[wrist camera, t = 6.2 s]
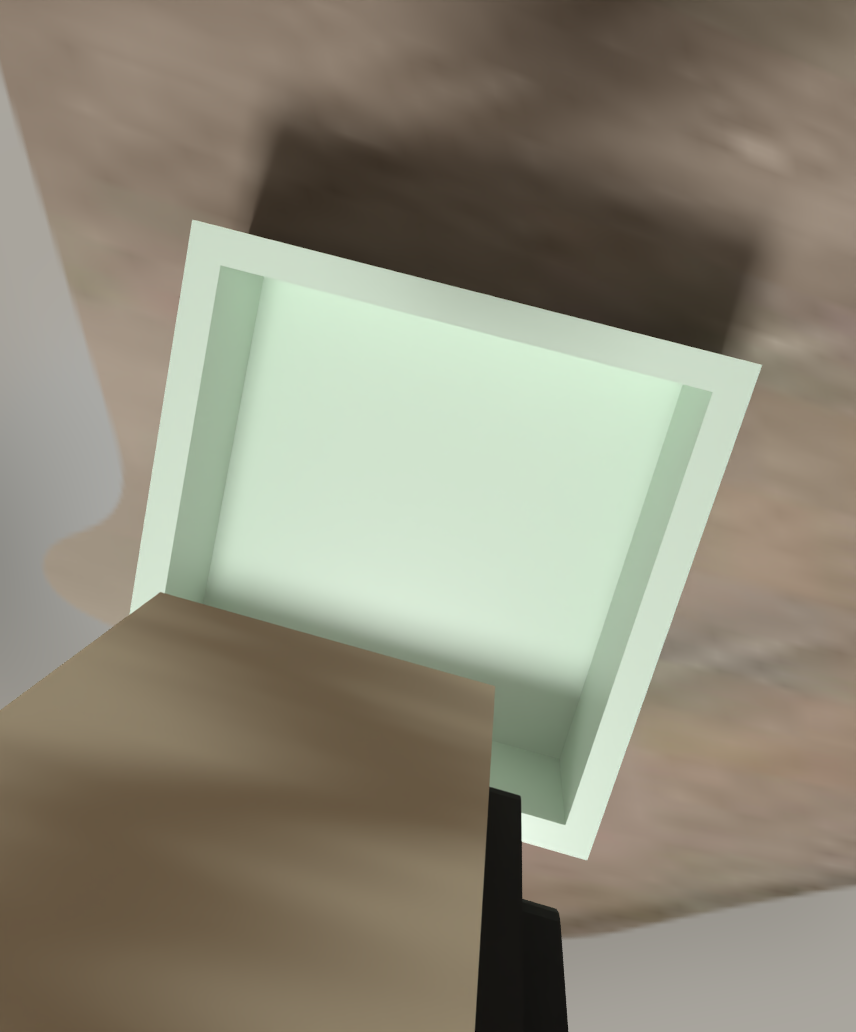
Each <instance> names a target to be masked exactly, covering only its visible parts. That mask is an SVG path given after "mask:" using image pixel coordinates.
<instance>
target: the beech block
mask: <svg viewBox="0 0 856 1032" xmlns="http://www.w3.org/2000/svg"><path fill="white" fill-rule="evenodd" d="M494 699H495V686H493V685H489V684H486V683H482V682H479V681H475V680H472V679H468V678H464V677H461V676H457V675H454V674H450V673H447V672H443V671H439V670H436V669H432V668H429V667H425V666H422V665H418V664H415V663H411V662H407V661H404V660H400V659H397V658H393V657H390V656H386V655H383V654H379V653H375V652H372V651H368V650H365V649H361V648H358V647H354V646H351V645H347V644H343V643H340V642H336V641H333V640H329V639H326V638H322V637H318V636H315V635H311V634H308V633H304V632H301V631H297V630H294V629H290V628H286V627H283V626H279V625H276V624H272V623H269V622H265V621H262V620H258V619H254V618H251V617H247V616H244V615H240V614H237V613H233V612H229V611H226V610H222V609H219V608H215V607H212V606H208V605H205V604H201V603H197V602H194V601H190V600H187V599H183V598H180V597H176V596H173V595H169V594H165V593H162V592H160V593H158V594H157V595H156V596H154V597H153V598H152V599H150V600H149V601H147V602H146V603H145V604H143V605H142V606H141V607H139V608H138V609H137V610H135V611H134V612H133V613H131V614H130V615H129V616H127V617H126V618H124V619H123V620H122V621H120V622H119V623H118V624H116V625H115V626H114V627H112V628H111V629H110V630H108V631H107V632H106V633H104V634H103V635H102V636H100V637H99V638H98V639H96V640H95V641H93V642H92V643H91V644H89V645H88V646H87V647H85V648H84V649H83V650H81V651H80V652H78V653H77V654H76V655H74V656H73V657H72V658H70V659H69V660H68V661H66V662H65V663H64V664H62V665H61V666H60V667H58V668H57V669H55V670H54V671H53V672H52V673H50V674H49V675H48V676H46V677H45V678H43V679H42V680H41V681H39V682H38V683H36V684H35V685H34V686H32V687H31V688H30V689H28V690H27V691H26V692H24V693H23V694H22V695H20V696H19V697H17V698H16V699H15V700H13V701H12V702H11V703H9V704H8V705H7V706H5V707H4V708H3V709H1V710H0V1032H475V1018H476V1001H477V984H478V968H479V951H480V934H481V917H482V900H483V884H484V867H485V850H486V833H487V817H488V800H489V783H490V766H491V750H492V733H493V716H494Z"/></svg>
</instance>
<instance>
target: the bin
mask: <svg viewBox="0 0 856 1032" xmlns="http://www.w3.org/2000/svg"><path fill="white" fill-rule="evenodd" d="M761 367H762V365H760V364H756V363H752V362H748V361H745V360H741V359H737V358H733V357H729V356H725V355H721V354H717V353H713V352H709V351H705V350H701V349H697V348H694V347H690V346H686V345H682V344H678V343H674V342H670V341H666V340H662V339H658V338H654V337H650V336H646V335H643V334H639V333H635V332H631V331H627V330H623V329H619V328H615V327H611V326H607V325H603V324H599V323H595V322H592V321H588V320H584V319H580V318H576V317H572V316H568V315H564V314H560V313H556V312H552V311H548V310H545V309H541V308H537V307H533V306H529V305H525V304H521V303H517V302H513V301H509V300H505V299H501V298H497V297H494V296H490V295H486V294H482V293H478V292H474V291H470V290H466V289H462V288H458V287H454V286H450V285H446V284H443V283H439V282H435V281H431V280H427V279H423V278H419V277H415V276H411V275H407V274H403V273H399V272H395V271H392V270H388V269H384V268H380V267H376V266H372V265H368V264H364V263H360V262H356V261H352V260H348V259H344V258H341V257H337V256H333V255H329V254H325V253H321V252H317V251H313V250H309V249H305V248H301V247H297V246H294V245H290V244H286V243H282V242H278V241H274V240H270V239H266V238H262V237H258V236H254V235H250V234H246V233H243V232H239V231H235V230H231V229H227V228H223V227H219V226H215V225H211V224H207V223H203V222H199V221H195V220H192V225H191V232H190V238H189V244H188V250H187V257H186V263H185V269H184V276H183V282H182V288H181V294H180V301H179V307H178V313H177V320H176V326H175V332H174V338H173V345H172V351H171V357H170V364H169V370H168V376H167V382H166V389H165V395H164V401H163V408H162V414H161V420H160V426H159V433H158V439H157V445H156V452H155V458H154V464H153V470H152V477H151V483H150V489H149V496H148V502H147V508H146V514H145V521H144V527H143V533H142V540H141V546H140V552H139V558H138V565H137V571H136V577H135V584H134V590H133V596H132V602H131V609H130V614H131V613H133V612H134V611H135V610H137V609H138V608H139V607H141V606H142V605H143V604H145V603H146V602H147V601H149V600H150V599H152V598H153V597H154V596H156V595H157V594H158V593H160V592H162V593H165V594H169V595H173V596H176V597H180V598H183V599H187V600H190V601H194V602H197V603H201V604H205V605H208V606H212V607H215V608H219V609H222V610H226V611H229V612H233V613H237V614H240V615H244V616H247V617H251V618H254V619H258V620H262V621H265V622H269V623H272V624H276V625H279V626H283V627H286V628H290V629H294V630H297V631H301V632H304V633H308V634H311V635H315V636H318V637H322V638H326V639H329V640H333V641H336V642H340V643H343V644H347V645H351V646H354V647H358V648H361V649H365V650H368V651H372V652H375V653H379V654H383V655H386V656H390V657H393V658H397V659H400V660H404V661H407V662H411V663H415V664H418V665H422V666H425V667H429V668H432V669H436V670H439V671H443V672H447V673H450V674H454V675H457V676H461V677H464V678H468V679H472V680H475V681H479V682H482V683H486V684H489V685H493V686H495V699H494V716H493V733H492V750H491V766H490V783H489V787H493V788H496V789H500V790H503V791H507V792H510V793H514V794H517V795H520V796H521V820H522V842H525V843H529V844H532V845H536V846H539V847H542V848H546V849H549V850H553V851H556V852H560V853H563V854H567V855H570V856H574V857H577V858H580V859H584V860H587V859H588V856H589V854H590V851H591V848H592V845H593V842H594V839H595V837H596V834H597V831H598V828H599V825H600V822H601V820H602V817H603V814H604V811H605V808H606V805H607V803H608V800H609V797H610V794H611V791H612V788H613V786H614V783H615V780H616V777H617V774H618V771H619V769H620V766H621V763H622V760H623V757H624V755H625V752H626V749H627V746H628V743H629V740H630V738H631V735H632V732H633V729H634V726H635V723H636V721H637V718H638V715H639V712H640V709H641V706H642V704H643V701H644V698H645V695H646V692H647V689H648V687H649V684H650V681H651V678H652V675H653V672H654V670H655V667H656V664H657V661H658V658H659V655H660V653H661V650H662V647H663V644H664V641H665V638H666V636H667V633H668V630H669V627H670V624H671V621H672V619H673V616H674V613H675V610H676V607H677V604H678V602H679V599H680V596H681V593H682V590H683V587H684V585H685V582H686V579H687V576H688V573H689V570H690V568H691V565H692V562H693V559H694V556H695V553H696V551H697V548H698V545H699V542H700V539H701V536H702V534H703V531H704V528H705V525H706V522H707V519H708V517H709V514H710V511H711V508H712V505H713V502H714V500H715V497H716V494H717V491H718V488H719V485H720V483H721V480H722V477H723V474H724V471H725V469H726V466H727V463H728V460H729V457H730V454H731V452H732V449H733V446H734V443H735V440H736V437H737V435H738V432H739V429H740V426H741V423H742V420H743V418H744V415H745V412H746V409H747V406H748V403H749V401H750V398H751V395H752V392H753V389H754V386H755V384H756V381H757V378H758V375H759V372H760V369H761Z"/></svg>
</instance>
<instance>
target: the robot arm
mask: <svg viewBox="0 0 856 1032" xmlns="http://www.w3.org/2000/svg"><path fill="white" fill-rule="evenodd" d="M475 1032H568V1022H567V1008H566V995H565V980H564V966H563V952H562V939H561V925H560V917H559V912H558V911H557V909H555V908H551V907H548V906H545V905H541V904H538V903H534V902H531V901H528V900H524V899H522V820H521V796H520V795H517V794H514V793H510V792H507V791H503V790H500V789H496V788H493V787H489V800H488V817H487V833H486V850H485V867H484V884H483V900H482V917H481V934H480V951H479V968H478V984H477V1001H476V1018H475Z"/></svg>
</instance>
